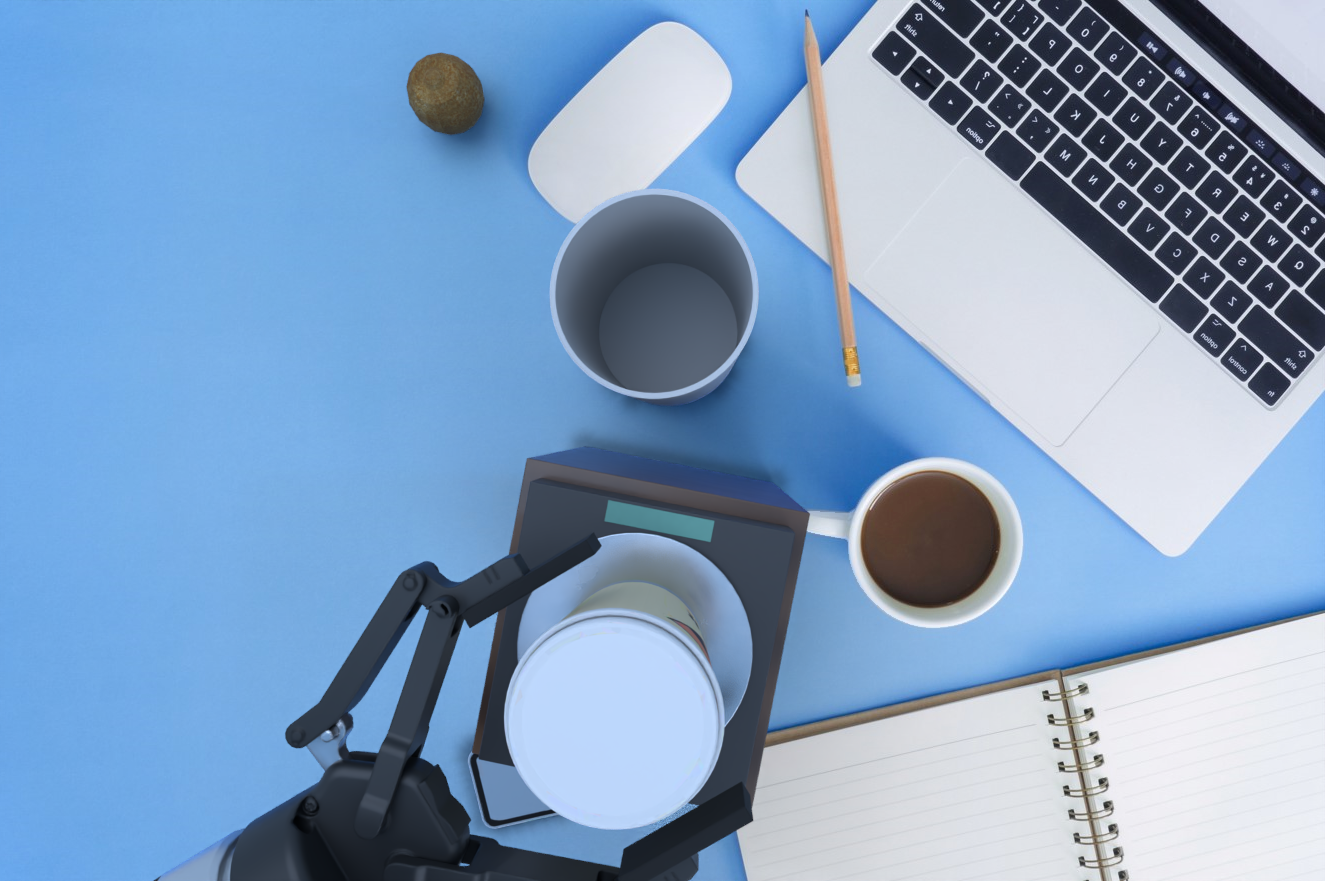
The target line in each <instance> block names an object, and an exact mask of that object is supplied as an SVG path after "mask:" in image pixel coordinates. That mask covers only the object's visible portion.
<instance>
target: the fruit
mask: <svg viewBox="0 0 1325 881" xmlns="http://www.w3.org/2000/svg"><path fill="white" fill-rule="evenodd" d="M406 81H407V83H406V86H405V87H406V93H407V98H408V104H409V106H410V108H411V109H412V111H413V113H414V114H415V116H416V117H417V119H418V121H419V122H421V123H422V124H423V125H424V126H426V127H428V128H429V129H430V130H431V131H433V132H434V133H439V134H444V135H448V136H454V135H459V134H464V133H466V132H467V131H469V130H470V129H472V128H473V127H475V125H476V124H477V123H478V121H479V120H480V118H481V117H482V115H483V110H484V107H485V101H486V100H485V93H484V87H483V84H482V82H481V81H482V80H481V79H480V78H479V76H478V75H477V73H476V72H475V70H474V68H473V67H472V66H471V65H470V64H469V63H467V62H466V61H465V60H463V59H462V58H460V57H459V56H457V55H454V54H450V53H445V52H436V53H431V54H430V53H429V54H427V55H425V56H423V57H422V58H420V59H418V60H417V61H416V62H415V63H414V65H413V67H412V68H411V70H410V71H409V73H408V78H407V80H406Z"/></svg>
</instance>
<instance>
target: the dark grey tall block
mask: <svg viewBox="0 0 1325 881" xmlns="http://www.w3.org/2000/svg"><path fill="white" fill-rule="evenodd" d="M523 470H524V471H523V476H522V482H521V487H520V492H519V498H518V503H517V508H516V513H515V519H514V524H513V530H512V534H511V539H510V545H509V550H508V555H510V554H516V553H517V550H518V544H519V539H520V534H521V528H522V523H523V518H524V512H525V507H526V502H527V496H528V491H529V486H530V482H531V481H533V480H536V479H539V478H544V479H549V480H554V481H559V482H564V483H569V484H574V485H579V486H584V487H590V488H595V489H600V490H605V491H610V492H615V493H620V494H625V495H631V496H636V497H641V498H646V499H651V500H656V501H661V502H666V503H671V504H677V505H682V506H687V507H692V508H697V509H702V510H707V511H712V512H717V513H723V514H728V515H733V516H738V517H743V518H748V519H753V520H758V521H763V522H769V523H774V524H779V525H784V526H789V527H790V528H791V529H792V530H793V531H794V533H795V538H794V543H793V548H792V554H791V559H790V564H789V569H788V574H787V579H786V584H785V589H784V594H783V599H782V604H781V609H780V615H779V620H778V625H777V630H776V635H775V640H774V645H773V650H772V655H771V660H770V665H769V671H768V676H767V681H766V686H765V691H764V696H763V701H762V706H761V711H760V716H759V721H758V726H757V732H756V737H755V742H754V747H753V752H752V757H751V762H750V767H749V772H748V777H747V782H746V789H747V791H748V792H749V794H750V798H751V806H752V807H753V805H754V800H755V797H756V796H755V795H756V790H757V785H758V780H759V775H760V771H761V767H762V766H761V765H762V761H763V755H764V750H765V744H766V739H767V735H768V729H769V725H770V721H771V720H770V719H771V715H772V710H773V703H774V699H775V693H776V689H777V685H778V679H779V673H780V668H781V664H782V658H783V654H784V648H785V643H786V638H787V634H788V627H789V623H790V618H791V613H792V607H793V603H794V597H795V592H796V588H797V583H798V577H799V572H800V568H801V562H802V557H803V552H804V547H805V542H806V536H807V531H808V526H809V521H810V517H811V513H810V512H809V511H808V510H807V509H805V508H804V507H803V506H802V505H800V503H798V502H797V501H796V500H795V499H793V498H792V497H791V496H790V495H788V494H787V493H786V492H785V491H784V490H783V489H782V488H780V487H779V486H778V485H777V484H776V483H774V482H772V481H767V480H761V479H756V478H752V477H747V476H742V475H736V474H731V473H726V472H721V471H715V470H711V469H705V468H701V467H695V466H691V465H685V464H679V463H675V462H669V461H664V460H658V459H653V458H649V457H643V456H637V455H633V454H627V453H622V452H617V451H613V450H606V449H601V448H598V447H597V448H596V447H591V446H587V445H586V446H579V447H575V448H570V449H565V450H560V451H555V452H551V453H550V452H549V453H546V454H540V455H535V456H531V457H527V458H526V460H525V465H524V469H523ZM506 608H507V607H505V608H504V609H502V610H500V611H499V612H497V613H496V619H495V620H496V622H495V626H494V631H493V635H492V641H491V646H490V652H489V657H488V658H489V659H488V663H487V670H486V674H485V679H484V683H483V684H484V685H483V690H482V696H481V700H480V706H479V711H478V717H477V722H476V727H475V731H474V732H475V733H474V736H473V743H472V748H471V752H472V753H474V754H479V752H480V747H481V742H482V736H483V731H484V726H485V720H486V715H487V710H488V704H489V699H490V694H491V688H492V683H493V678H494V672H495V667H496V662H497V656H498V651H499V646H500V640H501V635H502V630H503V624H504V619H505V614H506Z"/></svg>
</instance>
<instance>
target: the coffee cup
mask: <svg viewBox="0 0 1325 881" xmlns="http://www.w3.org/2000/svg"><path fill="white" fill-rule="evenodd" d="M504 726H505V735H506V741H507V745H508V749H509V752H510V755H511V758H512V760H513V763H514V765H515V767H516V769H517V771H518V773H519V775H520V776H521V778H522V779H523V781H524V782H525V784H526V785H527V786H528V787H529V789H530V790H531V791H532V792H533V793H534V794H535V795H536V796H537V797H538V798H539V799H540V800H541V801H542V802H543V803H544V804H545V805H547V806H548V807H549V808H551V809H552V810H553V811H555V812H556V813H558V814H559V815H558V816H561V817H563V818H565V819H567V820H569V821H571V822H573V823H576V824H579V825H581V826H584V827H590V828H593V829H599V830H605V831H606V830H607V831H611V830H612V831H613V830H614V831H619V830H631V829H632V830H633V829H637V828H642V827H646V826H649V825H652V824H655V823H658V822H659V821H662V820H665V819H666V818H668V817H670V816H672V815H673V814H675V813H677V812H678V811H679V810H681V809H683V807H685V806H686V805H687V804H689V803H688V802H689V801H690V800H691V799H692V798H693V797H694V796H695V795H696V794H697V793H698V792H699V791H700V790H701V788H702V787H703V786H704V784H705V783H706V781H707V780H708V778H709V776H710V775H711V773H712V771H713V769H714V767H715V764H716V762H717V760H718V757H719V754H720V750H721V747H722V742H723V737H724V726H725V714H724V704H723V697H722V694H721V690H720V686H719V683H718V681H717V678H716V676H715V673H714V671H713V669H712V666H711V662H710V658H709V655H708V652H707V648H706V645H705V642H704V638H703V635H702V633H701V630H700V627H699V625H698V623H697V621H696V619H695V617H694V615H693V614H692V612H691V611H690V610H689V609H688V607H687V606H686V605H685V604H684V603H683V602H682V601H681V600H680V599H679V598H678V597H676V596H675V595H673V594H672V593H670V592H669V591H667V590H665V589H663V588H661V587H659V586H655V585H652V584H648V583H643V582H624V583H618V584H614V585H611V586H608V587H606V588H603V589H601V590H600V591H598V592H596V593H595V594H593V595H591V596H590V597H588V598H587V599H586V600H585V601H583V602H582V603H581V604H580V605H579V606H577V607H576V608H575V609H574V610H573V611H572V612H570V613H569V614H568V615H567V616H566V617H565V618H563V619H562V620H561V621H560V622H559V623H557V624H556V625H554V626H553V627H551V628H550V629H549V630H547V631H546V632H544V633H543V634H542V635H541V636H540V637H539V638H538V639H537V640H536V641H535V642H534V643H533V644H532V645H531V646H530V647H529V648H528V650H527V651H526V652H525V654H524V655H523V657H522V658H521V660H520V661H519V663H518V665H517V667H516V669H515V671H514V673H513V676H512V678H511V681H510V684H509V688H508V691H507V696H506V701H505V710H504Z"/></svg>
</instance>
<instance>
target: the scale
mask: <svg viewBox="0 0 1325 881" xmlns="http://www.w3.org/2000/svg"><path fill="white" fill-rule="evenodd" d="M593 532H594V533H595V535H596V537H601V536H605V535H608V534H613V533H620V532H648V533H656V534H660V535H664V536H668V537H671V538H674V539H676V540H679V541H681V542H684V543H686V544H688V545H690V546H691V547H693V548H695V549H697V550H698V551H700V552H701V553H703V554H704V555H705V556H706V557H708V558H709V559H710V560H712V561H713V562H714V563H715V564H716V565H717V566H718V567H719V568H720V569H721V570H722V571H723V572H724V574H725V575H726V576H727V578H728V579H729V580H730V581H731V583H732V584H733V586H734V588H735V589H736V591H737V593H738V594H739V596H740V598H741V601H742V603H743V605H744V608H745V610H746V613H747V617H748V620H749V624H750V628H751V635H752V643H753V660H752V668H751V675H750V678H749V682H748V686H747V689H746V692H745V694H744V697H743V699H742V701H741V704H740V705H739V707H738V709H737V711H736V712H735V714H734V716H733V717H732V718H731V720H730V721H729V722H728V724H727V725H726V726H725V728H724V737H723V742H722V747H721V750H720V754H719V757H718V760H717V762H716V764H715V767H714V769H713V771H712V773H711V775H710V776H709V778H708V780H707V781H706V783H705V784H704V786H703V787H702V788H701V790H700V791H699V792H698V793H697V794H696V795H695V796H694V797H693V798H692V799H691V800H690V801H689V802H688V803H687V804H691V805H694V806H699V805H701V804H703V803H705V802H706V801H708V800H710V799H712V798H713V797H715V796H717V795H719V794H720V793H722V792H724V791H726V790H727V789H729V788H731V787H733V786H734V785H736V784H738V783H740V782H741V781H742V782H743V784H744V785H745V787H746V782H747V777H748V772H749V767H750V762H751V757H752V752H753V747H754V742H755V737H756V732H757V726H758V721H759V716H760V711H761V706H762V701H763V696H764V691H765V686H766V681H767V676H768V671H769V665H770V660H771V655H772V650H773V645H774V640H775V635H776V630H777V625H778V620H779V615H780V609H781V604H782V599H783V594H784V589H785V584H786V579H787V574H788V569H789V564H790V559H791V554H792V548H793V543H794V538H795V533H794V531H793V530H792V529H791V528H790V527H789V526H784V525H779V524H774V523H769V522H763V521H758V520H753V519H748V518H743V517H738V516H733V515H728V514H723V513H717V512H712V511H707V510H702V509H697V508H692V507H687V506H682V505H677V504H671V503H666V502H661V501H656V500H651V499H646V498H641V497H636V496H631V495H625V494H620V493H615V492H610V491H605V490H600V489H595V488H590V487H584V486H579V485H574V484H569V483H564V482H559V481H554V480H549V479H544V478H539V479H536V480H533V481H531V482H530V486H529V491H528V496H527V502H526V507H525V512H524V518H523V523H522V528H521V534H520V539H519V544H518V550H517V553H520V554H521V556H522V558H523V559H524V561H525V563H526V564H527V566H528V568H529V569H530V570H531V569H533V568H534V567H536V566H538V565H539V564H541V563H543V562H544V561H546V560H548V559H550V558H551V557H553V556H555V555H556V554H558V553H560V552H561V551H563V550H565V549H566V548H568V547H570V546H571V545H573V544H575V543H576V542H578V541H580V540H582V539H583V538H585V537H587V536H588V535H590V534H592V533H593ZM531 593H532V592H531ZM531 593H529V594H527V595H526V596H524V597H522V598H521V599H519V600H517V601H515V602H514V603H512V604H510V605H509V606H507V608H506V614H505V619H504V624H503V630H502V635H501V640H500V646H499V651H498V656H497V662H496V667H495V672H494V678H493V683H492V688H491V694H490V699H489V704H488V710H487V715H486V720H485V726H484V731H483V736H482V742H481V747H480V752H479V760H484V761H489V762H493V763H498V764H503V765H508V766H512V767H515V765H514V763H513V760H512V758H511V755H510V752H509V749H508V745H507V741H506V735H505V726H504V710H505V701H506V696H507V691H508V688H509V684H510V681H511V678H512V676H513V673H514V671H515V669H516V667H517V665H518V658H517V640H518V632H519V625H520V621H521V618H522V614H523V611H524V608H525V606H526V603H527V601H528V598H529V596H530V595H531Z"/></svg>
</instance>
